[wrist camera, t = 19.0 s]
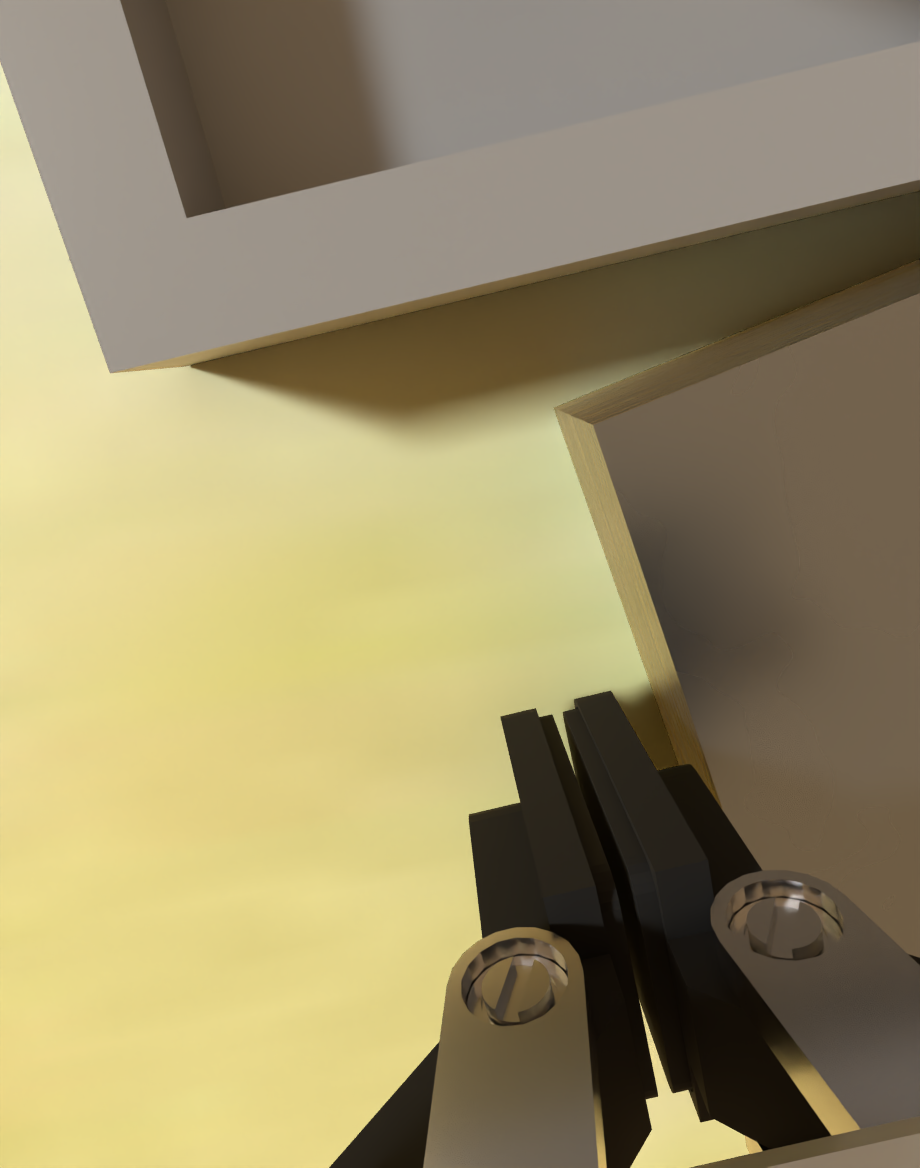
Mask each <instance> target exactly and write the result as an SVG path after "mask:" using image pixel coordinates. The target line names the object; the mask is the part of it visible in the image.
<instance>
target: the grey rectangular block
mask: <svg viewBox="0 0 920 1168" xmlns="http://www.w3.org/2000/svg"><path fill="white" fill-rule="evenodd" d="M554 410H555V413H556V416H557V419H558V422H559V425H560V428H561V430H562V433H563V436H564V439H565V442H566V445H567V448H568V450H569V453H570V456H571V459H572V462H573V465H574V468H575V470H576V473H577V476H578V479H579V482H580V485H581V488H582V490H583V493H584V496H585V499H586V502H587V505H588V508H589V510H590V513H591V516H592V519H593V522H594V525H595V528H596V530H597V533H598V536H599V539H600V542H601V545H602V548H603V550H604V553H605V556H606V559H607V562H608V565H609V568H610V570H611V573H612V576H613V579H614V582H615V585H616V588H617V590H618V593H619V596H620V599H621V602H622V605H623V607H624V610H625V613H626V616H627V619H628V622H629V625H630V627H631V630H632V633H633V636H634V639H635V642H636V645H637V647H638V650H639V653H640V656H641V659H642V662H643V665H644V667H645V670H646V673H647V676H648V679H649V682H650V685H651V687H652V690H653V693H654V696H655V699H656V702H657V705H658V707H659V710H660V713H661V716H662V719H663V722H664V725H665V727H666V730H667V733H668V736H669V739H670V742H671V745H672V747H673V750H674V753H675V756H676V759H677V762H678V765H679V766H680V765H684V764H691V765H692V766H693V767H694V768H695V770H696V771H697V773H698V774H699V776H700V777H701V779H702V780H703V782H704V783H705V785H706V786H707V788H708V789H709V791H710V792H711V794H712V795H713V797H714V798H715V800H716V801H717V803H718V804H719V806H720V807H721V809H722V810H723V812H724V813H725V815H726V816H727V818H728V819H729V821H730V822H731V824H732V825H733V827H734V828H735V830H736V831H737V833H738V834H739V836H740V837H741V839H742V840H743V842H744V843H745V845H746V846H747V848H748V849H749V851H750V852H751V854H752V855H753V857H754V858H755V860H756V861H757V863H758V864H759V866H760V867H761V869H762V870H788V871H793V872H799V873H804V874H808V875H811V876H813V877H816V878H818V879H821V880H823V881H825V882H828V883H829V884H831V885H832V886H834V887H835V888H836V889H838V890H839V891H841V892H842V893H843V894H845V895H846V896H847V897H848V898H849V899H850V900H851V901H852V902H853V903H854V904H855V905H856V906H857V907H859V908H860V909H861V910H862V911H863V912H864V913H865V914H866V915H867V916H868V917H869V918H870V919H871V920H872V921H873V922H874V923H875V924H877V925H878V926H879V927H880V928H881V929H882V930H883V931H884V932H885V933H886V934H887V935H888V936H889V937H890V938H891V939H892V940H893V941H895V942H896V943H897V944H898V945H899V946H900V947H901V948H902V949H903V950H904V951H905V952H906V953H907V954H910V955H913V956H916V957H919V958H920V259H918V260H916V261H913V262H911V263H908V264H906V265H903V266H901V267H899V268H896V269H894V270H891V271H889V272H886V273H884V274H881V275H879V276H876V277H874V278H872V279H869V280H867V281H864V282H862V283H859V284H857V285H854V286H852V287H849V288H847V289H844V290H842V291H840V292H837V293H835V294H832V295H830V296H827V297H825V298H822V299H820V300H817V301H815V302H812V303H810V304H808V305H805V306H803V307H800V308H798V309H795V310H793V311H790V312H788V313H785V314H783V315H781V316H778V317H776V318H773V319H771V320H768V321H766V322H763V323H761V324H758V325H756V326H753V327H751V328H749V329H746V330H744V331H741V332H739V333H736V334H734V335H731V336H729V337H726V338H724V339H722V340H719V341H717V342H714V343H712V344H709V345H707V346H704V347H702V348H699V349H697V350H694V351H692V352H690V353H687V354H685V355H682V356H680V357H677V358H675V359H672V360H670V361H667V362H665V363H663V364H660V365H658V366H655V367H653V368H650V369H648V370H645V371H643V372H640V373H638V374H635V375H633V376H631V377H628V378H626V379H623V380H621V381H618V382H616V383H613V384H611V385H608V386H606V387H603V388H601V389H599V390H596V391H594V392H591V393H589V394H586V395H584V396H581V397H579V398H576V399H574V400H572V401H569V402H567V403H564V404H562V405H559V406H557V407H554Z"/></svg>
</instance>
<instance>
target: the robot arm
mask: <svg viewBox="0 0 920 1168" xmlns="http://www.w3.org/2000/svg"><path fill="white" fill-rule="evenodd" d="M574 703H575V709H573V710H569V711H565V712H563V717H564V723H565V727H566V732H567V737H568V742H569V746H570V751H571V756H572V761H573V766H574V770H575V774H574V771H573V768H572V766H571V763H570V760H569V758H568V755H567V752H566V750H565V747H564V745H563V742H562V739H561V737H560V734H559V731H558V729H557V726H556V723H555V721H554V718H553V715H547V716H543V717H539V716H538V713H537V711H536V708H535V709H531V710H526V711H522V712H518V713H513V714H509V715H505V716H501V721H502V725H503V730H504V734H505V738H506V742H507V747H508V751H509V755H510V760H511V764H512V768H513V772H514V777H515V781H516V785H517V790H518V794H519V798H520V802H521V803H516V804H512V805H508V806H503V807H499V808H495V809H491V810H486V811H482V812H478V813H473V814H469V826H470V835H471V843H472V852H473V861H474V869H475V878H476V886H477V895H478V904H479V912H480V921H481V930H482V938H483V939H481V940H479V941H477V942H476V943H475V944H474V945H473V946H471V947H470V948H469V949H468V950H467V951H465V952H464V953H463V954H462V956H461V957H460V958H459V960H458V961H457V963H456V964H455V966H454V967H453V968H452V971H451V974H450V977H449V980H448V984H447V988H446V996H445V1003H444V1011H443V1019H442V1027H441V1034H440V1042H439V1043H438V1044H437V1045H436V1046H435V1047H434V1048H433V1050H432V1051H431V1052H430V1053H429V1054H428V1055H427V1056H426V1058H425V1059H424V1060H423V1061H422V1062H421V1063H420V1064H419V1066H418V1067H417V1068H416V1069H415V1070H414V1071H413V1073H412V1074H411V1075H410V1076H409V1077H408V1078H407V1079H406V1081H405V1082H404V1083H403V1084H402V1085H401V1086H400V1087H399V1089H398V1090H397V1091H396V1092H395V1093H394V1094H393V1095H392V1097H391V1098H390V1099H389V1100H388V1101H387V1102H386V1103H385V1105H384V1106H383V1107H382V1108H381V1109H380V1110H379V1111H378V1113H377V1114H376V1115H375V1116H374V1117H373V1118H372V1119H371V1121H370V1122H369V1123H368V1124H367V1125H366V1126H365V1127H364V1129H363V1130H362V1131H361V1132H360V1133H359V1134H358V1135H357V1137H356V1138H355V1139H354V1140H353V1141H352V1142H351V1143H350V1145H349V1146H348V1147H347V1148H346V1149H345V1150H344V1151H343V1153H342V1154H341V1155H340V1156H339V1157H338V1158H337V1159H336V1161H335V1162H334V1163H333V1164H332V1165H331V1166H330V1167H329V1168H630V1167H631V1165H632V1163H633V1161H634V1160H635V1158H636V1156H637V1154H638V1153H639V1151H640V1149H641V1148H642V1146H643V1144H644V1142H645V1141H646V1139H647V1137H648V1135H649V1134H650V1132H651V1130H652V1128H651V1123H650V1119H649V1114H648V1109H647V1104H646V1099H649V1098H654V1097H658V1092H657V1087H656V1082H655V1077H654V1072H653V1067H652V1062H651V1057H650V1052H649V1047H648V1042H647V1037H646V1032H645V1027H644V1022H643V1017H642V1012H641V1007H640V1003H641V1006H642V1009H643V1012H644V1015H645V1017H646V1020H647V1023H648V1026H649V1029H650V1032H651V1035H652V1038H653V1041H654V1043H655V1046H656V1049H657V1052H658V1055H659V1058H660V1061H661V1064H662V1067H663V1070H664V1072H665V1075H666V1078H667V1081H668V1084H669V1087H670V1089H671V1091H672V1093H676V1092H680V1091H685V1090H689V1092H690V1095H691V1098H692V1101H693V1103H694V1106H695V1109H696V1111H697V1114H698V1117H699V1119H700V1122H705V1121H709V1120H713V1119H715V1120H717V1121H719V1122H721V1123H723V1124H725V1125H726V1126H728V1127H730V1128H732V1129H734V1130H736V1131H737V1132H739V1133H741V1134H743V1135H745V1140H746V1146H747V1149H748V1151H749V1153H750V1154H748V1155H744V1156H739V1157H735V1158H731V1159H726V1160H722V1161H717V1162H713V1163H709V1164H704V1165H700V1166H695V1167H691V1168H920V958H919V957H916V956H913V955H910V954H907V953H906V952H905V951H904V950H903V949H902V948H901V947H900V946H899V945H898V944H897V943H896V942H895V941H893V940H892V939H891V938H890V937H889V936H888V935H887V934H886V933H885V932H884V931H883V930H882V929H881V928H880V927H879V926H878V925H877V924H875V923H874V922H873V921H872V920H871V919H870V918H869V917H868V916H867V915H866V914H865V913H864V912H863V911H862V910H861V909H860V908H859V907H857V906H856V905H855V904H854V903H853V902H852V901H851V900H850V899H849V898H848V897H847V896H846V895H845V894H843V893H842V892H841V891H839V890H838V889H836V888H835V887H834V886H832V885H831V884H829V883H828V882H825V881H823V880H821V879H818V878H816V877H813V876H811V875H808V874H804V873H799V872H793V871H788V870H762V869H761V867H760V866H759V864H758V863H757V861H756V860H755V858H754V857H753V855H752V854H751V852H750V851H749V849H748V848H747V846H746V845H745V843H744V842H743V840H742V839H741V837H740V836H739V834H738V833H737V831H736V830H735V828H734V827H733V825H732V824H731V822H730V821H729V819H728V818H727V816H726V815H725V813H724V812H723V810H722V809H721V807H720V806H719V804H718V803H717V801H716V800H715V798H714V797H713V795H712V794H711V792H710V791H709V789H708V788H707V786H706V785H705V783H704V782H703V780H702V779H701V777H700V776H699V774H698V773H697V771H696V770H695V768H694V767H693V766H692V765H691V764H684V765H680V766H676V767H671V768H667V769H663V770H658V771H657V770H656V768H655V766H654V765H653V763H652V761H651V759H650V758H649V756H648V754H647V753H646V751H645V749H644V747H643V746H642V744H641V742H640V740H639V739H638V737H637V735H636V733H635V732H634V730H633V728H632V726H631V725H630V723H629V721H628V719H627V718H626V716H625V714H624V712H623V711H622V709H621V707H620V705H619V704H618V702H617V700H616V698H615V697H614V695H613V693H612V692H611V691H608V692H603V693H599V694H595V695H591V696H586V697H582V698H578V699H574ZM575 775H576V776H575ZM639 1000H640V1002H639Z"/></svg>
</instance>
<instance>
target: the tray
mask: <svg viewBox="0 0 920 1168" xmlns="http://www.w3.org/2000/svg"><path fill="white" fill-rule="evenodd" d="M0 62H1V65H2V68H3V71H4V73H5V76H6V79H7V82H8V85H9V88H10V90H11V93H12V96H13V99H14V102H15V105H16V108H17V110H18V113H19V116H20V119H21V122H22V125H23V127H24V130H25V133H26V136H27V139H28V142H29V144H30V147H31V150H32V153H33V156H34V159H35V161H36V164H37V167H38V170H39V173H40V176H41V178H42V181H43V184H44V187H45V190H46V193H47V196H48V198H49V201H50V204H51V207H52V210H53V213H54V215H55V218H56V221H57V224H58V227H59V230H60V232H61V235H62V238H63V241H64V244H65V247H66V249H67V252H68V255H69V258H70V261H71V264H72V266H73V269H74V272H75V275H76V278H77V281H78V284H79V286H80V289H81V292H82V295H83V298H84V301H85V303H86V306H87V309H88V312H89V315H90V318H91V320H92V323H93V326H94V329H95V332H96V335H97V337H98V340H99V343H100V346H101V349H102V352H103V354H104V357H105V360H106V363H107V366H108V369H109V372H110V373H118V372H129V371H140V370H151V369H162V368H173V367H184V366H189V365H193V364H197V363H202V362H206V361H210V360H214V359H218V358H222V357H227V356H231V355H235V354H239V353H243V352H248V351H252V350H256V349H260V348H264V347H269V346H273V345H277V344H281V343H285V342H289V341H294V340H298V339H302V338H306V337H310V336H315V335H319V334H323V333H327V332H331V331H335V330H340V329H344V328H348V327H352V326H356V325H361V324H365V323H369V322H373V321H377V320H382V319H386V318H390V317H394V316H398V315H402V314H407V313H411V312H415V311H419V310H423V309H428V308H432V307H436V306H440V305H444V304H449V303H453V302H457V301H461V300H465V299H469V298H474V297H478V296H482V295H486V294H490V293H495V292H499V291H503V290H507V289H511V288H515V287H520V286H524V285H528V284H532V283H536V282H541V281H545V280H549V279H553V278H557V277H562V276H566V275H570V274H574V273H578V272H582V271H587V270H591V269H595V268H599V267H603V266H608V265H612V264H616V263H620V262H624V261H629V260H633V259H637V258H641V257H645V256H649V255H654V254H658V253H662V252H666V251H670V250H675V249H679V248H683V247H687V246H691V245H695V244H700V243H704V242H708V241H712V240H716V239H721V238H725V237H729V236H733V235H737V234H742V233H746V232H750V231H754V230H758V229H762V228H767V227H771V226H775V225H779V224H783V223H788V222H792V221H796V220H800V219H804V218H808V217H813V216H817V215H821V214H825V213H829V212H834V211H838V210H842V209H846V208H850V207H855V206H859V205H863V204H867V203H871V202H875V201H880V200H884V199H888V198H892V197H896V196H901V195H905V194H909V193H913V192H917V191H920V0H0Z"/></svg>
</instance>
